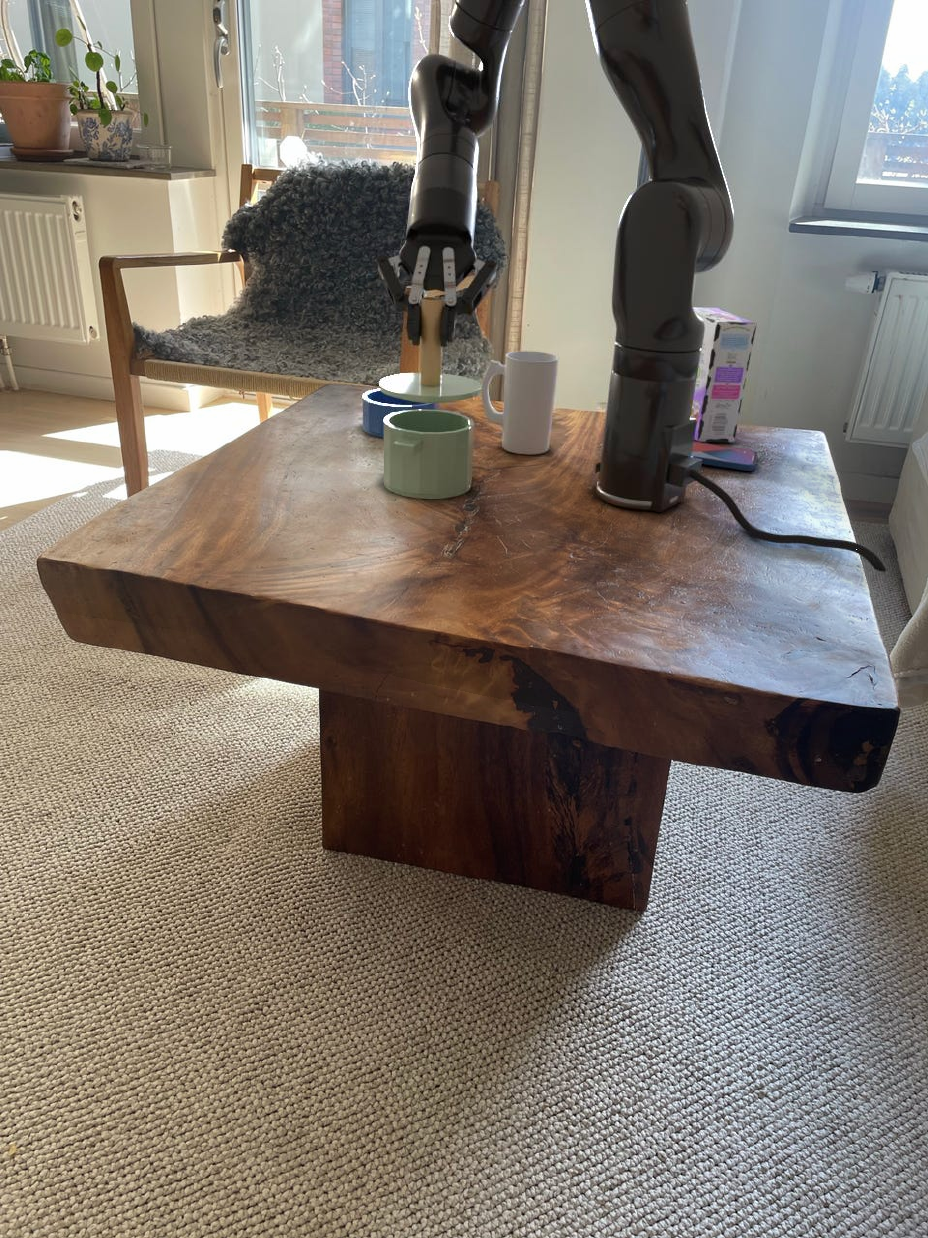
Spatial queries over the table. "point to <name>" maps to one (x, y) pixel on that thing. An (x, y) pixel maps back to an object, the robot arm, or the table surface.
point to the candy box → (721, 374)
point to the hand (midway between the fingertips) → (429, 341)
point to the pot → (428, 453)
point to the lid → (430, 367)
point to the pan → (386, 410)
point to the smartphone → (725, 456)
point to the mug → (524, 400)
